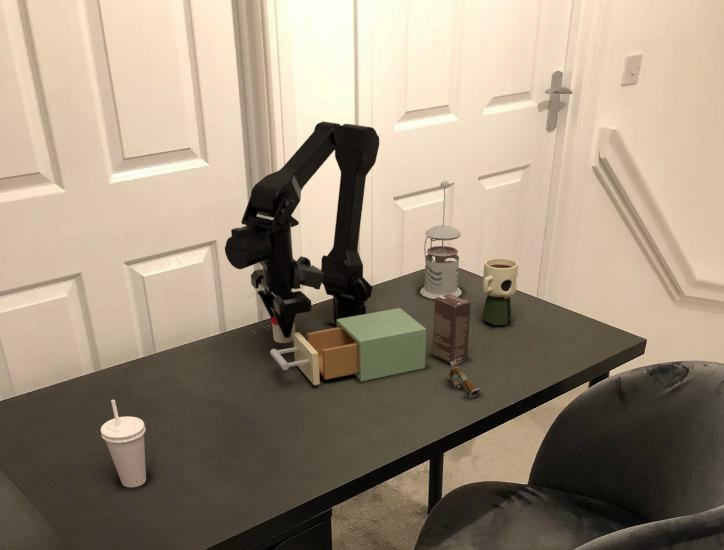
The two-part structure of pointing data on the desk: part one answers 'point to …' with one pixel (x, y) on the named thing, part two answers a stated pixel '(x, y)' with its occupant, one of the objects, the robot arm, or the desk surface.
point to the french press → (441, 261)
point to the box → (451, 328)
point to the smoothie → (126, 447)
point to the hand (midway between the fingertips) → (283, 332)
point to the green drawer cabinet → (386, 343)
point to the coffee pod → (278, 333)
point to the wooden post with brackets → (462, 378)
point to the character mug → (499, 289)
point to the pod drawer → (322, 354)
